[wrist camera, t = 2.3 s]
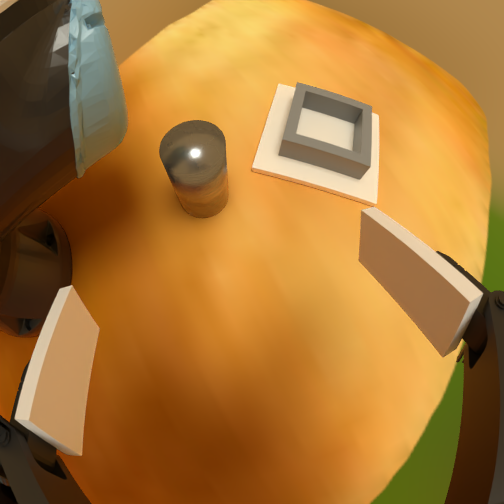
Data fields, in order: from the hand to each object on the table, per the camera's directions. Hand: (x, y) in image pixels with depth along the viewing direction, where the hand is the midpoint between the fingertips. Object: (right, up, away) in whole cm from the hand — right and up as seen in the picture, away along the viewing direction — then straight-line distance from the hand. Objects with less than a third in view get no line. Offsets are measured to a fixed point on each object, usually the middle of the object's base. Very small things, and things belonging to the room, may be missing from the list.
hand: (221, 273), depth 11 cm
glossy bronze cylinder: (-4, +7, +17) cm, 18 cm away
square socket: (+10, +14, +19) cm, 26 cm away
